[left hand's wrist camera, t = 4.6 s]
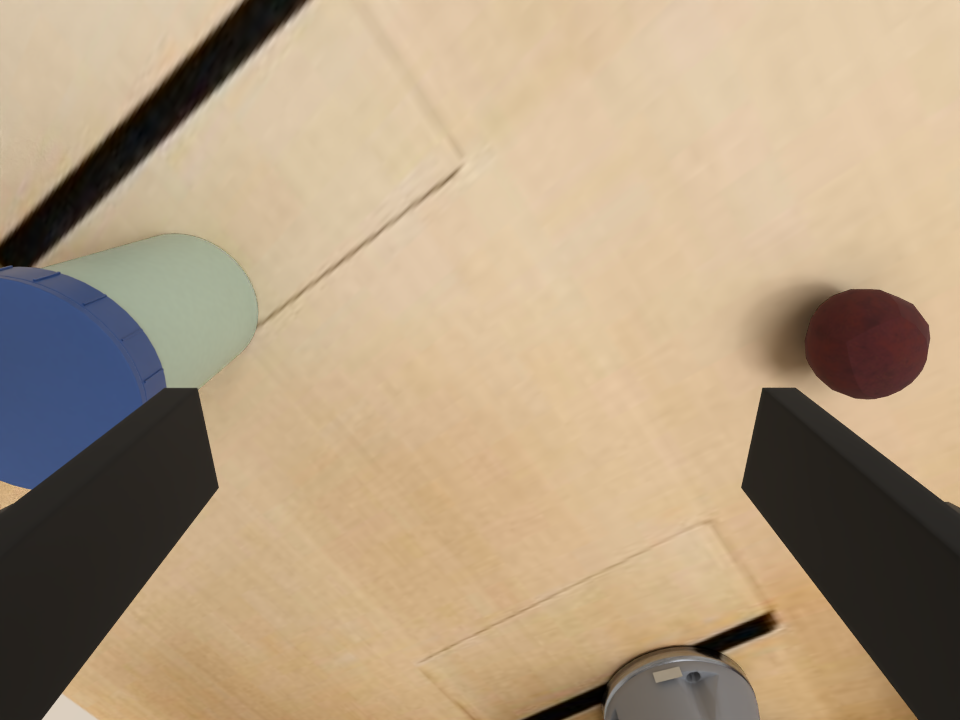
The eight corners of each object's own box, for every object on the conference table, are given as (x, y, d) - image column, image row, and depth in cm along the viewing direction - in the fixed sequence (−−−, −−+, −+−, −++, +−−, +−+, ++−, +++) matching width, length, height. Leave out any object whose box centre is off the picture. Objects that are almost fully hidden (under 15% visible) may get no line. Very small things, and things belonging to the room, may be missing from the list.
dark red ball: (806, 389, 43) (865, 433, 36) (768, 311, 41) (824, 343, 34) (898, 341, 41) (976, 378, 35) (864, 257, 39) (941, 280, 32)
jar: (259, 373, 43) (148, 489, 28) (126, 357, 42) (-57, 467, 28) (257, 243, 39) (126, 301, 24) (111, 224, 38) (-110, 271, 24)
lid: (175, 478, 30) (153, 503, 28) (-34, 456, 30) (-72, 479, 27) (157, 282, 26) (130, 294, 24) (-86, 252, 25) (-136, 261, 23)
